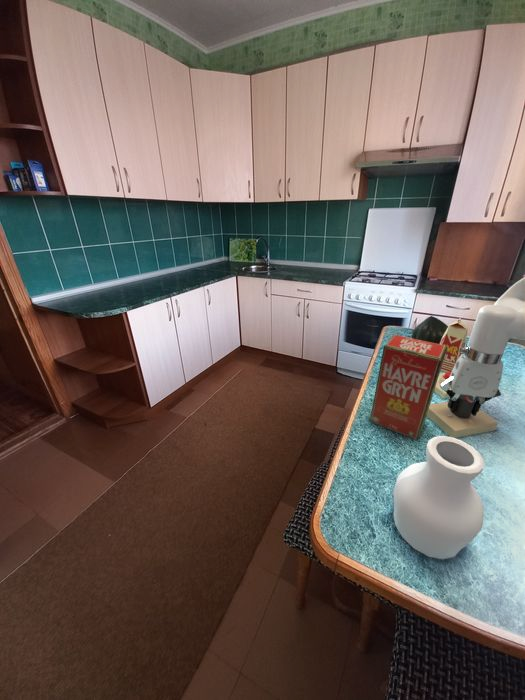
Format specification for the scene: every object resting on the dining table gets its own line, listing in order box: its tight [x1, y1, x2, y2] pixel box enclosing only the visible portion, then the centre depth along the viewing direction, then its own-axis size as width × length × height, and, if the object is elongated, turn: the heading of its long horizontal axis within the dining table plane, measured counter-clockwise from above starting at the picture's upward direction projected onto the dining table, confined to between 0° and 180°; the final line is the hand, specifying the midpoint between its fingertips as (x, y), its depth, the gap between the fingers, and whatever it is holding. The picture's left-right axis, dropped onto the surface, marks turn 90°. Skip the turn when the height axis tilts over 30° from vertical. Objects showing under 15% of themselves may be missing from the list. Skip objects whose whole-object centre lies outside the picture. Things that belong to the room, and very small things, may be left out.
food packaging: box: [369, 334, 447, 441], centre depth 78 cm, size 13×9×25 cm
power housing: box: [434, 372, 452, 400], centre depth 97 cm, size 12×10×4 cm
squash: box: [411, 315, 449, 344], centre depth 121 cm, size 14×15×15 cm
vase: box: [392, 435, 485, 560], centre depth 52 cm, size 14×14×20 cm
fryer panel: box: [426, 401, 500, 439], centre depth 83 cm, size 14×11×3 cm
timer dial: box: [453, 394, 476, 418], centre depth 81 cm, size 4×4×6 cm
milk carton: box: [440, 317, 469, 373], centre depth 106 cm, size 9×9×20 cm
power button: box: [444, 372, 451, 380], centre depth 96 cm, size 4×4×2 cm
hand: (461, 410), depth 82 cm, fingers closed on timer dial, 4 cm apart
